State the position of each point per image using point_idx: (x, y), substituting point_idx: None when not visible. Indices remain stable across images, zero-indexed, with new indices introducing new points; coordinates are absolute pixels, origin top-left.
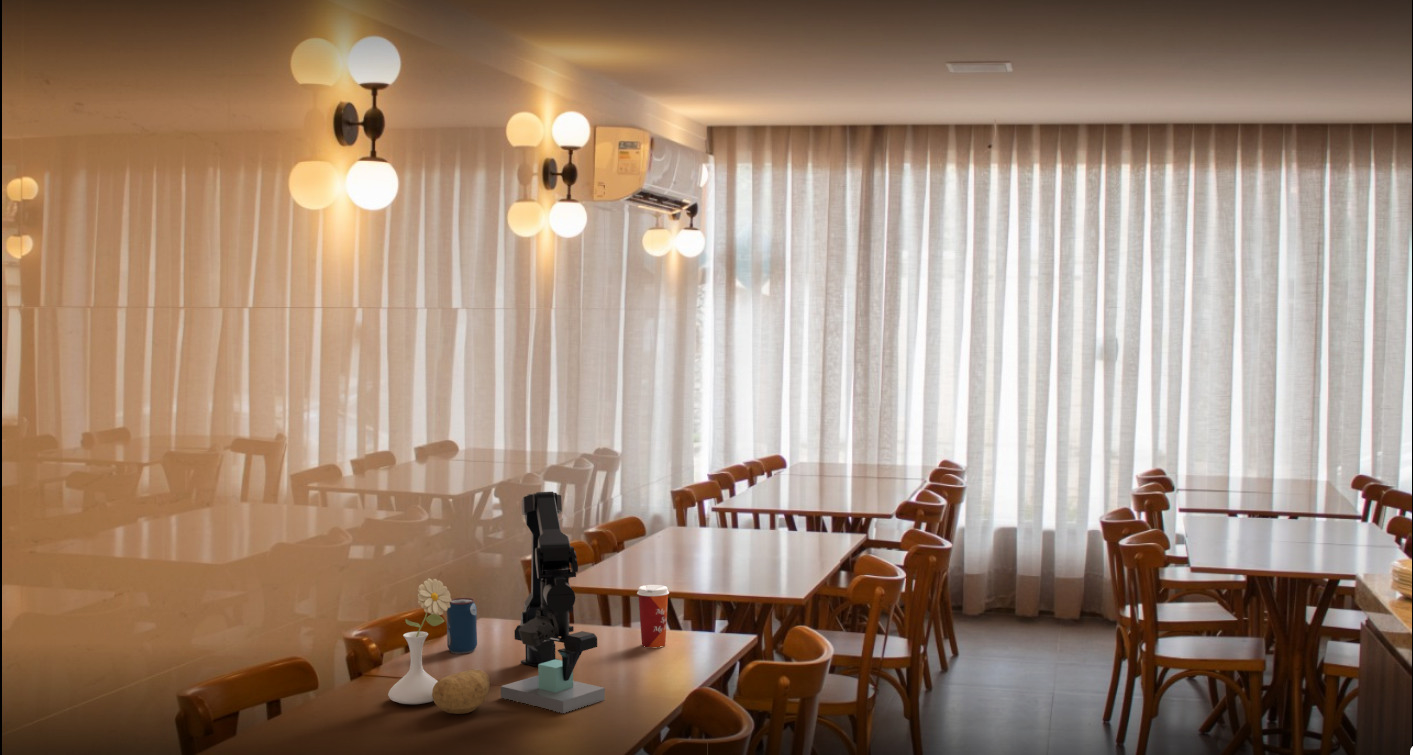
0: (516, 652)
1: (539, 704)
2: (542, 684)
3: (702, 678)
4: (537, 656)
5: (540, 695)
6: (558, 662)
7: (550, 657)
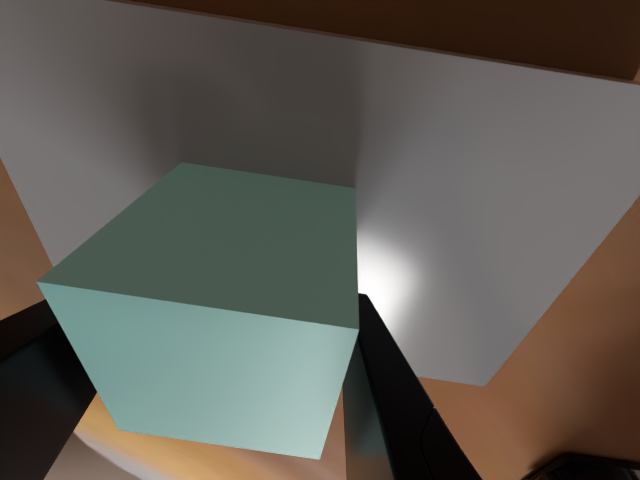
0: None
1: (238, 18)
2: (311, 198)
3: (122, 463)
4: (443, 460)
5: (205, 22)
6: (223, 417)
7: (348, 472)
